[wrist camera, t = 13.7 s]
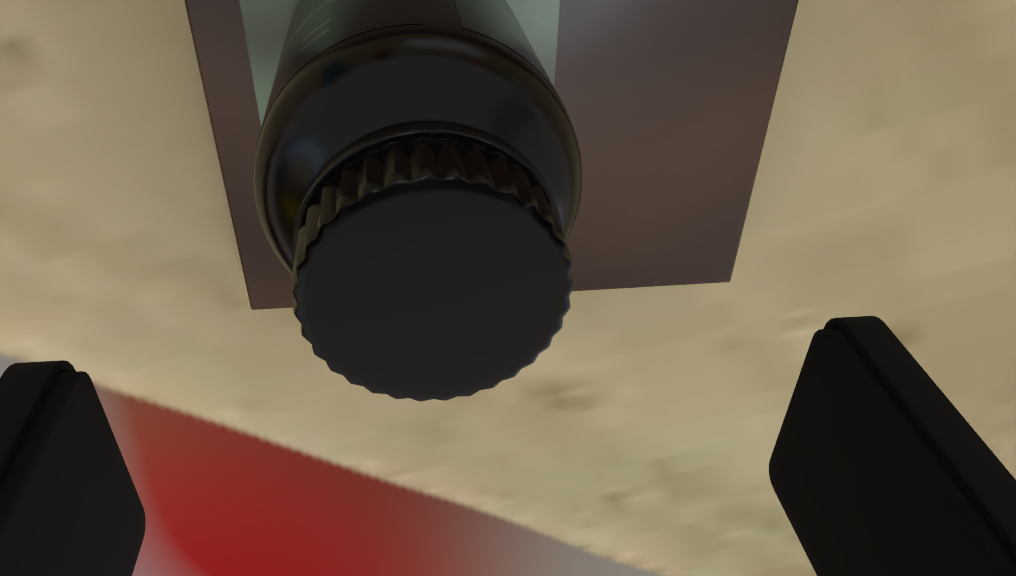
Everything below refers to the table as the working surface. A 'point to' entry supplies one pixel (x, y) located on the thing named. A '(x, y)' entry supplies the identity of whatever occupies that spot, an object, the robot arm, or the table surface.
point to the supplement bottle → (419, 192)
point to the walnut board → (593, 113)
